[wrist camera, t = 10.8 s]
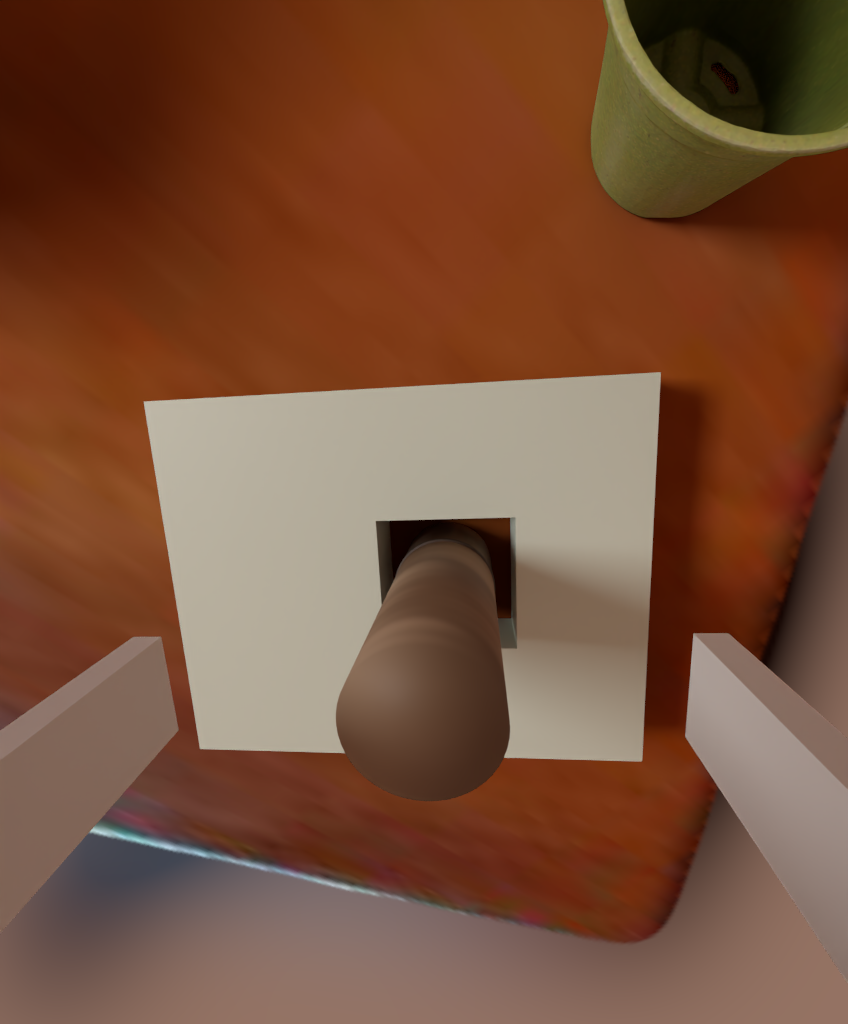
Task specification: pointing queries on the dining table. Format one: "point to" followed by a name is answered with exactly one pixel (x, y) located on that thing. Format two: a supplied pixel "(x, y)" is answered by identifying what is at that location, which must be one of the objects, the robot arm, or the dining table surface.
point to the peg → (430, 675)
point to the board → (368, 558)
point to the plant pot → (714, 96)
